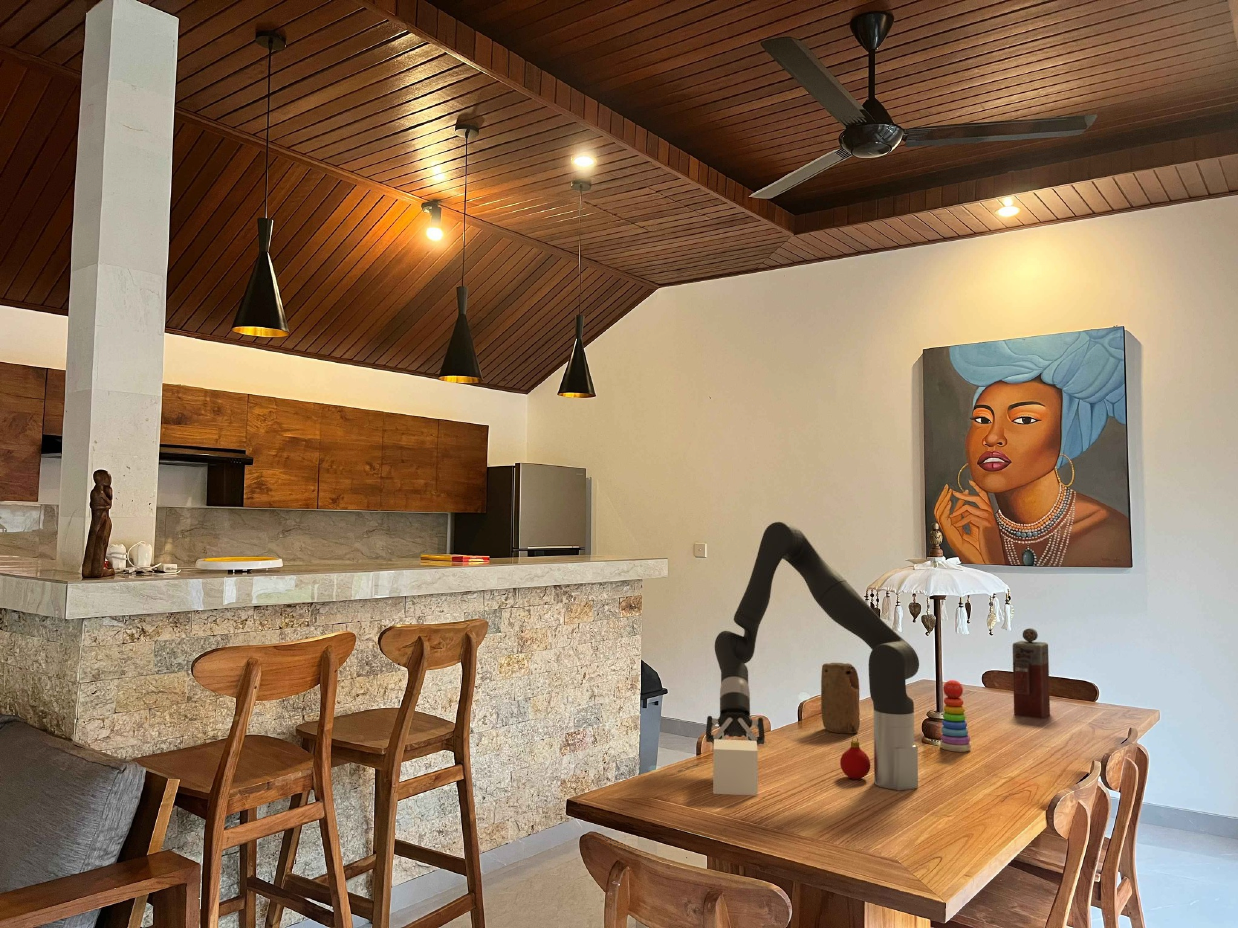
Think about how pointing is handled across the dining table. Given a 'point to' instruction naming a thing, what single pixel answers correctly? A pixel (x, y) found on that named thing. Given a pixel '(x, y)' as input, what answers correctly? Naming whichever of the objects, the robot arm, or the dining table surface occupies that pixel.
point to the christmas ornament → (855, 762)
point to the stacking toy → (954, 720)
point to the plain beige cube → (735, 767)
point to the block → (840, 698)
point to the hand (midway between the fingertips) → (735, 756)
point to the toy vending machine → (1031, 676)
